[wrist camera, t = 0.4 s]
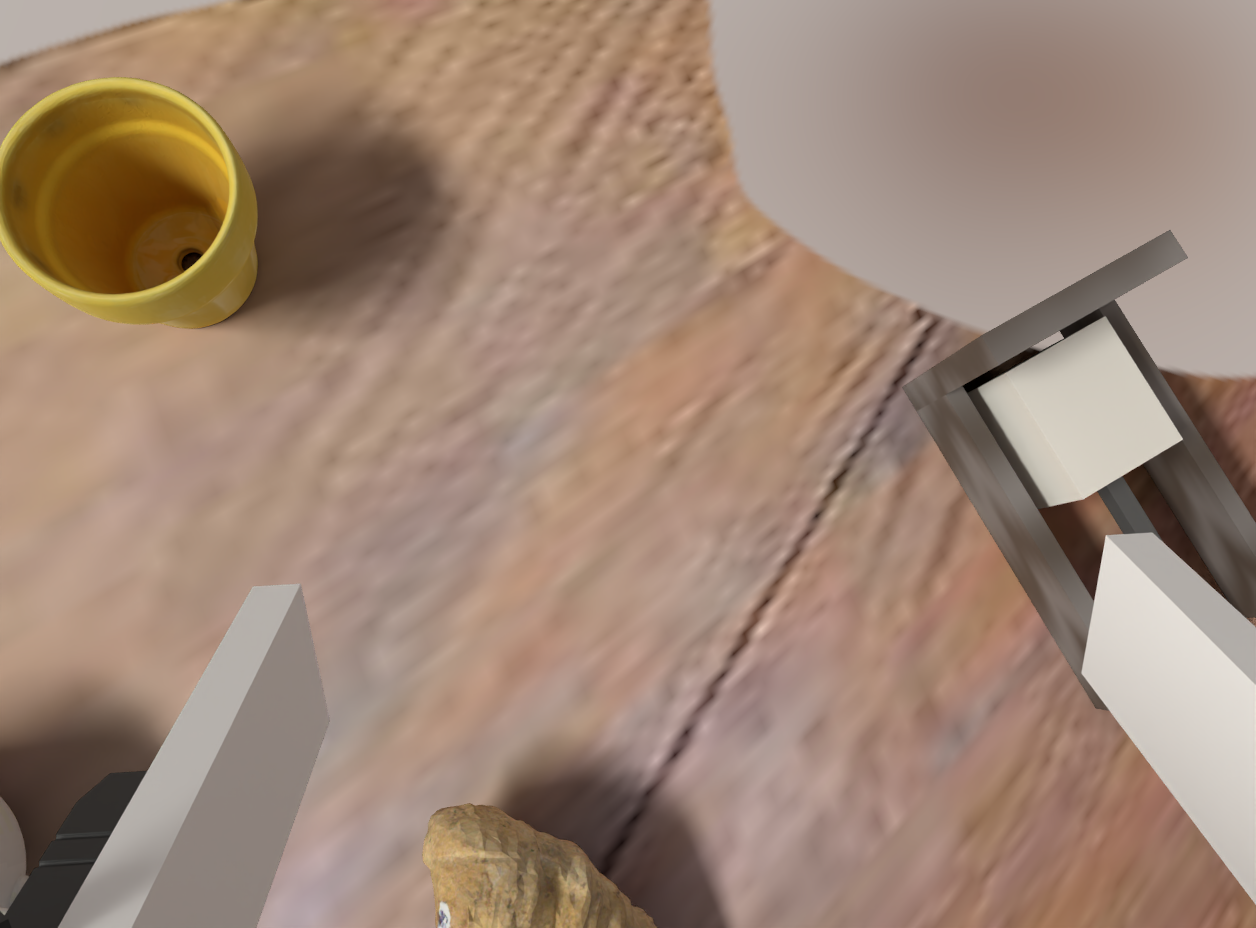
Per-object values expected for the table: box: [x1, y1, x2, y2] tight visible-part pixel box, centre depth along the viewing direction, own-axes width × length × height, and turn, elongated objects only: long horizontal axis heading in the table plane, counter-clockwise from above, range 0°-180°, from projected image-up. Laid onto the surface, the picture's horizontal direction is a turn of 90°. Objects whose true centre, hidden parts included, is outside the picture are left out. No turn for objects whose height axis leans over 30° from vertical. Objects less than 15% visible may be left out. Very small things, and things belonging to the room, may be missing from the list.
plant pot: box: [0, 77, 258, 329], centre depth 47 cm, size 10×10×10 cm
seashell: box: [422, 803, 658, 928], centre depth 44 cm, size 14×8×8 cm, turn 72°
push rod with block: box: [967, 316, 1183, 543], centre depth 47 cm, size 24×6×12 cm, turn 29°
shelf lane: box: [902, 230, 1256, 711], centre depth 48 cm, size 20×10×10 cm, turn 29°
